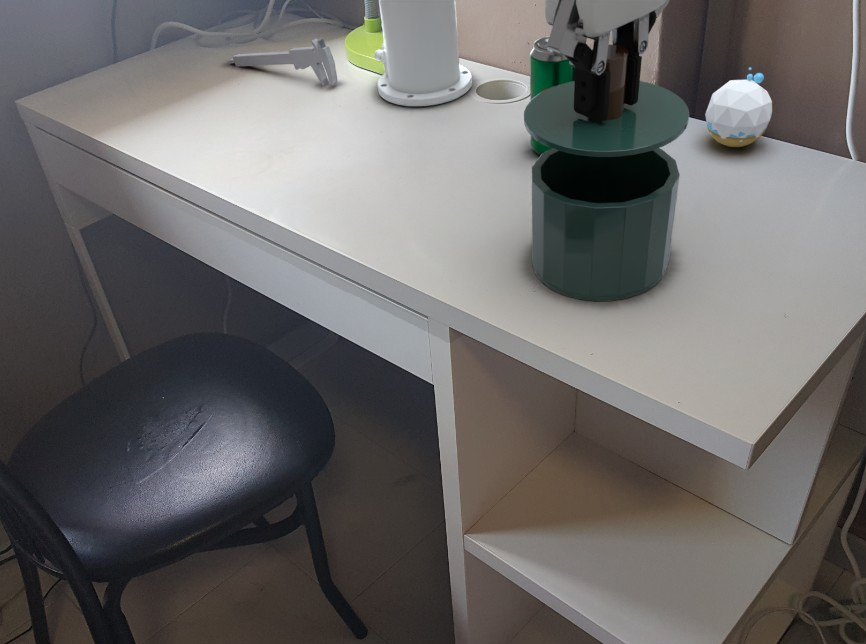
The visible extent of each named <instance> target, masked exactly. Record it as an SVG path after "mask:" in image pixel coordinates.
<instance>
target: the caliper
mask: <svg viewBox="0 0 866 644" xmlns="http://www.w3.org/2000/svg"><path fill="white" fill-rule="evenodd" d="M228 64H234V65H235V67H256V66H258V67H259V66H279V65H293V67H294V69H295V70H296V71H298V70H300V69H301V70H305V69H307V68H309V67H311V69H312V70H313V72H314V74H315V76H316V77H317V79H318V81H319V83H320V84H321V85H322V87H325V86H327V85H330V86H331V87H332V86H334V85H336V84H337V83H338V82H339V79H338V73H337V69H336V62H335V59H334V56H333V54H332V50H331V48H330V46H328V45H326V42H325V40H324V37H321V38H319V39H318V38H317V37H316V38H314V39H312V40H311V46H300V47H293V48H290V49H289V50H288V51H273V52H272V51H271V52H253V53H238V54H235V55H233V56H232V58H231V59H229V60H228Z"/></svg>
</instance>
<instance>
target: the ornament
mask: <svg viewBox="0 0 866 644" xmlns="http://www.w3.org/2000/svg"><path fill="white" fill-rule="evenodd" d="M747 69H748V70H747V71H752V69H753V68H752V67H751V66H749V67H748V68H747ZM764 80H765V76H764V74H763V73H762V72H757V73H755V74H754V75H753V73H748V74H747V75H746V79H732V80H731V79H730V80H729V81H728V82H726V83H725V84H724V85H722V86H721V87H719V88H718V89H717V90H716V91H714V92H713V93H712V94H711V97H710V100H709V103H708V105H707V109H706V111H705V113H704V116H705V121H706V128H707V130H708V133H709V134H710V136H711V137H712V138H713V140H715V141H716V142H717V143H718V144H721V145H723V146H725V147H728V148H741V147H745V146H748V145H751V144H753V143H754V142H755V141H757V140H758V139H760V138H761V137H762V136H763V135H764V134H765V132H766V131H767V128H768V126H769V123H770V121H771V118H772V114H773V100H772V99H771V96H770V94H769V91H768V90H766V89H765V88H763V87H762V86H760V84H762V82H763V81H764Z"/></svg>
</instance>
